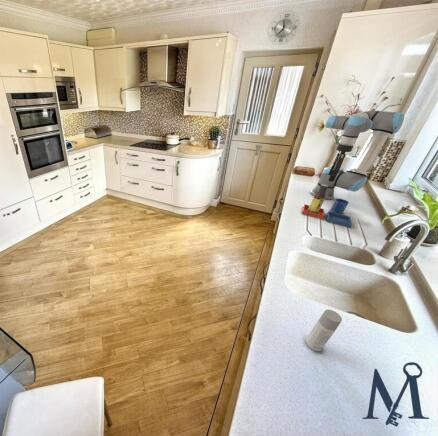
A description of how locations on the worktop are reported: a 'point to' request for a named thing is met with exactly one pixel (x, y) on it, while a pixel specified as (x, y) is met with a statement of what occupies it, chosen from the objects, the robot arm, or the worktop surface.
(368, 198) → the worktop surface
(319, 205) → the sauce bottle
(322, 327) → the container
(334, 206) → the blue cup
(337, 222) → the blue tray
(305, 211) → the red tray
